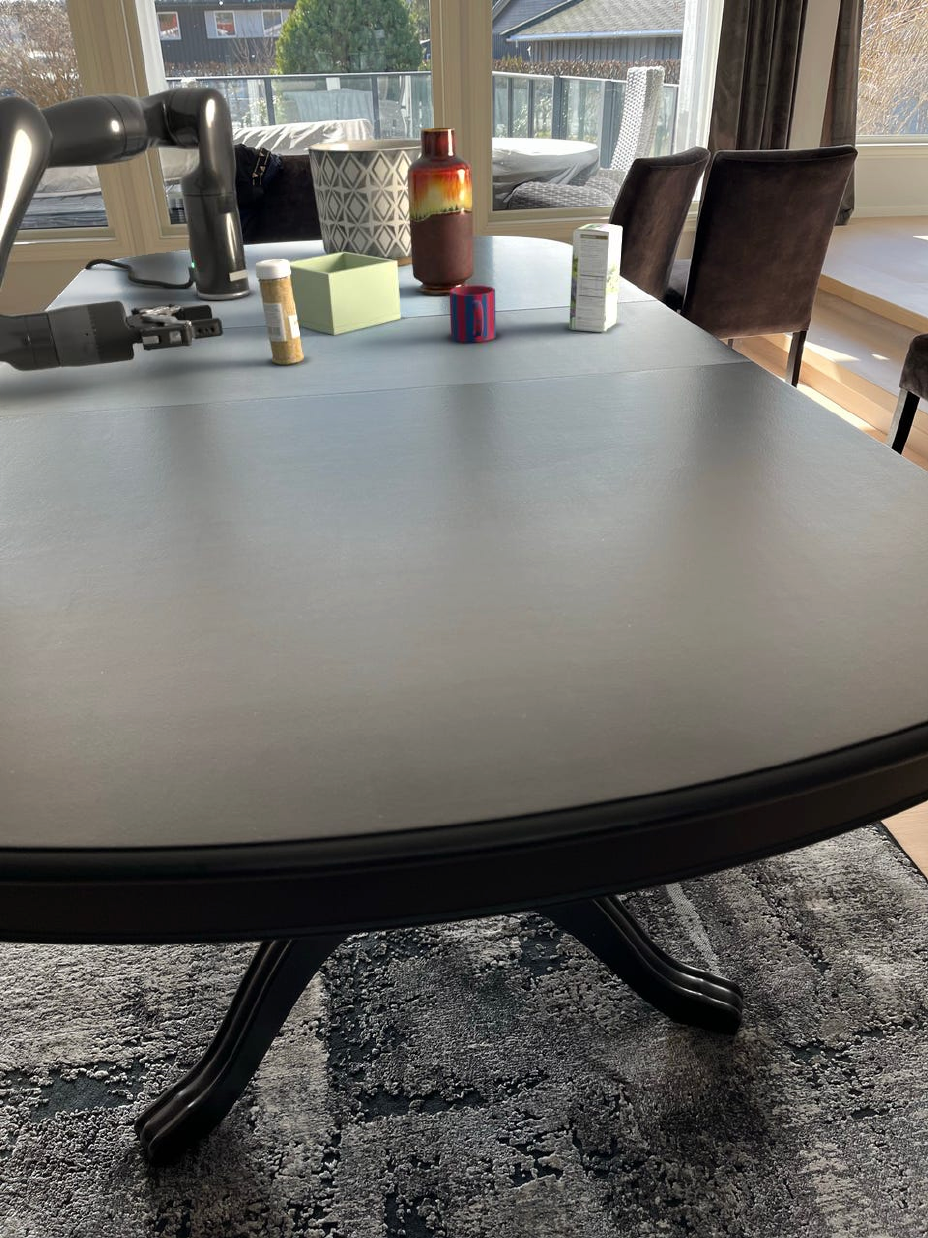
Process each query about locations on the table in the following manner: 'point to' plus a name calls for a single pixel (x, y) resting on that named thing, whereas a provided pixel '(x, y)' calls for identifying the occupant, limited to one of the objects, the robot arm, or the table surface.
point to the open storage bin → (344, 292)
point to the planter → (364, 196)
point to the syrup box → (595, 277)
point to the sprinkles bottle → (279, 310)
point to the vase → (440, 214)
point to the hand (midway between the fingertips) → (216, 319)
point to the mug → (472, 313)
